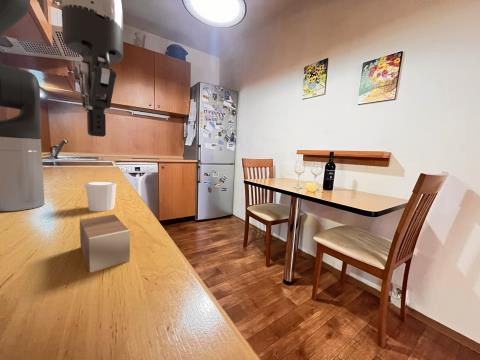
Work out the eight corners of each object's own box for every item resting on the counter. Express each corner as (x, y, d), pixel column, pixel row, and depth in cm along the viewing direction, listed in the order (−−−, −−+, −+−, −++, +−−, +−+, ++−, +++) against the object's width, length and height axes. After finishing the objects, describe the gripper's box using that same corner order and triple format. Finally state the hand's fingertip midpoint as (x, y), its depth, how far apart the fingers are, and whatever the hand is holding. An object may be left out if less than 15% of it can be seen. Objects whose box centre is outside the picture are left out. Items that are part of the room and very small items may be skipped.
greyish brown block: (79, 219, 33) (89, 238, 27) (114, 214, 37) (129, 230, 31) (80, 247, 34) (90, 272, 28) (114, 240, 38) (129, 260, 31)
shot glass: (101, 213, 50) (100, 186, 49) (78, 210, 52) (78, 183, 51) (122, 206, 57) (122, 182, 56) (102, 203, 58) (101, 180, 57)
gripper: (56, 23, 32) (61, 133, 35) (67, -19, 23) (73, 133, 26) (110, 44, 38) (111, 137, 40) (136, 16, 29) (135, 139, 31)
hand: (96, 136), depth 33 cm, fingers closed
